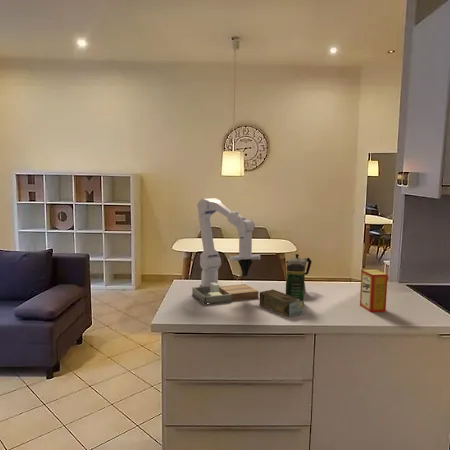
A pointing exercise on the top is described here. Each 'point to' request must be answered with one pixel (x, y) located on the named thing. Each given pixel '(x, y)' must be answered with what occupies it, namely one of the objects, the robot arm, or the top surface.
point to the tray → (203, 296)
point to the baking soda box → (373, 290)
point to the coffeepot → (303, 263)
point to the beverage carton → (281, 303)
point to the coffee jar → (295, 279)
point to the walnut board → (239, 291)
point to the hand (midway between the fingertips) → (244, 275)
